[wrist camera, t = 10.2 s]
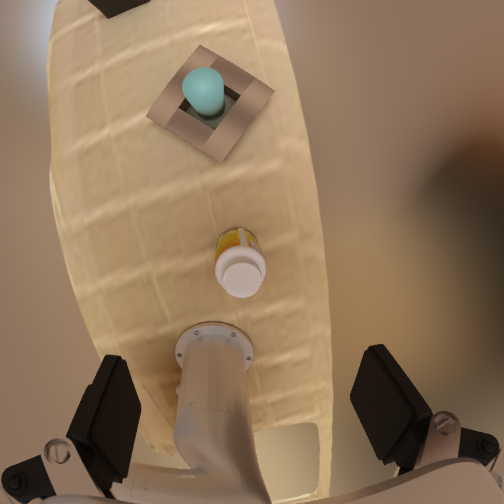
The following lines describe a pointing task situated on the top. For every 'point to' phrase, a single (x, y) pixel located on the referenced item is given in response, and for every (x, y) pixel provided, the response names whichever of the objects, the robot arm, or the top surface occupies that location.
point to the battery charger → (115, 6)
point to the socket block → (236, 120)
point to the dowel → (205, 92)
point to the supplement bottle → (239, 263)
